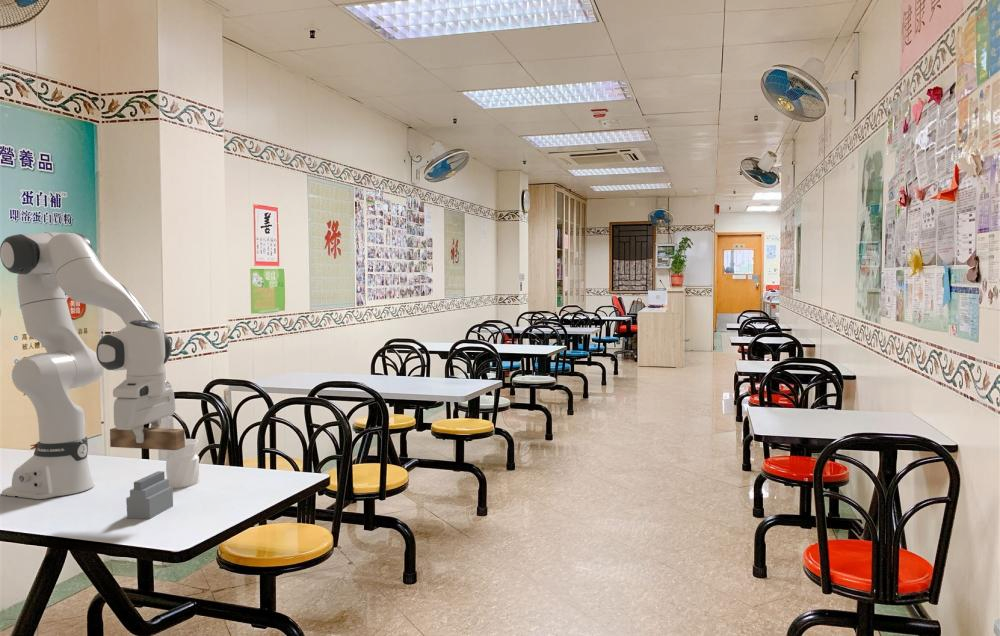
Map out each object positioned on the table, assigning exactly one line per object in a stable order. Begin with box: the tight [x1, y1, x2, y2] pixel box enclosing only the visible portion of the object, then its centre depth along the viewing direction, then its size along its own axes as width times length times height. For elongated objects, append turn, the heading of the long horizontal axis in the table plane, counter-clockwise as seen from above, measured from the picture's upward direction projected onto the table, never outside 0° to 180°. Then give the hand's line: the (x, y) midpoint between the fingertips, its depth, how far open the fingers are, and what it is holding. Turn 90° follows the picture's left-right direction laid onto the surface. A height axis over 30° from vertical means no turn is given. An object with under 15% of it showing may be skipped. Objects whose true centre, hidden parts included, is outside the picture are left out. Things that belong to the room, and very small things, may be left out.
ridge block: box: [125, 470, 174, 520], centre depth 180 cm, size 6×10×9 cm, turn 173°
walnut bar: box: [109, 426, 186, 451], centre depth 179 cm, size 18×4×4 cm, turn 82°
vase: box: [165, 438, 201, 488], centre depth 206 cm, size 9×9×12 cm
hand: (147, 440), depth 179 cm, fingers closed on walnut bar, 4 cm apart
